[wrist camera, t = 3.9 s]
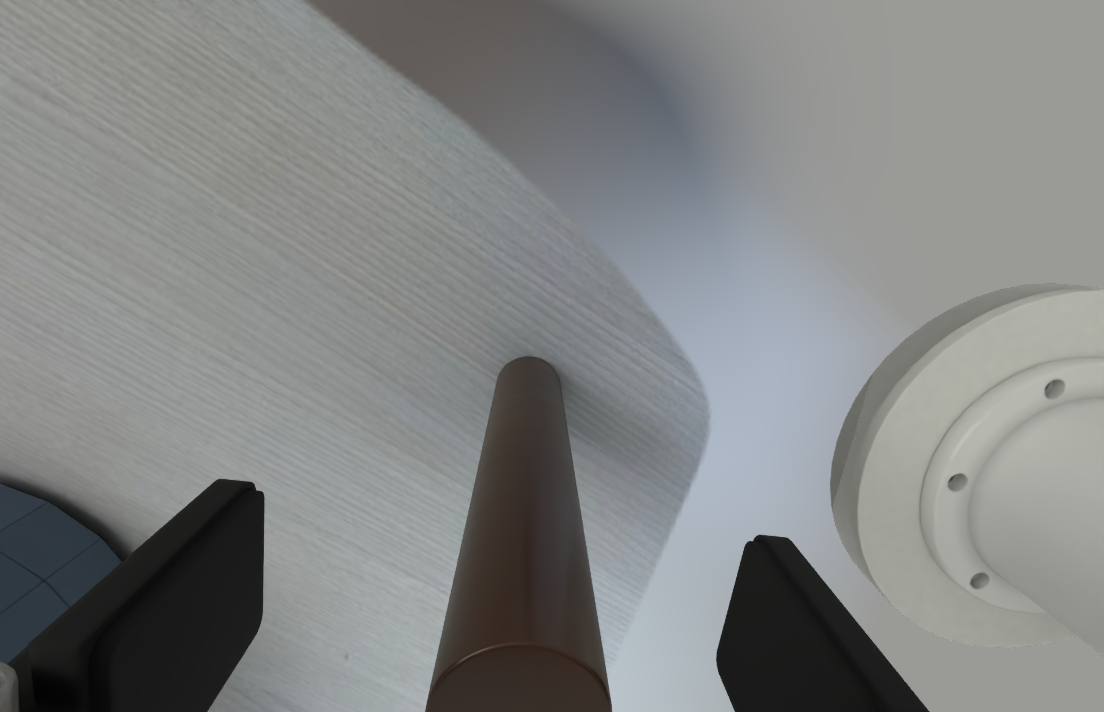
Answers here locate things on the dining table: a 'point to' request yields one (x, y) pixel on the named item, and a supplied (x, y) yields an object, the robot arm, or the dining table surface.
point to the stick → (522, 568)
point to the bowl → (42, 567)
